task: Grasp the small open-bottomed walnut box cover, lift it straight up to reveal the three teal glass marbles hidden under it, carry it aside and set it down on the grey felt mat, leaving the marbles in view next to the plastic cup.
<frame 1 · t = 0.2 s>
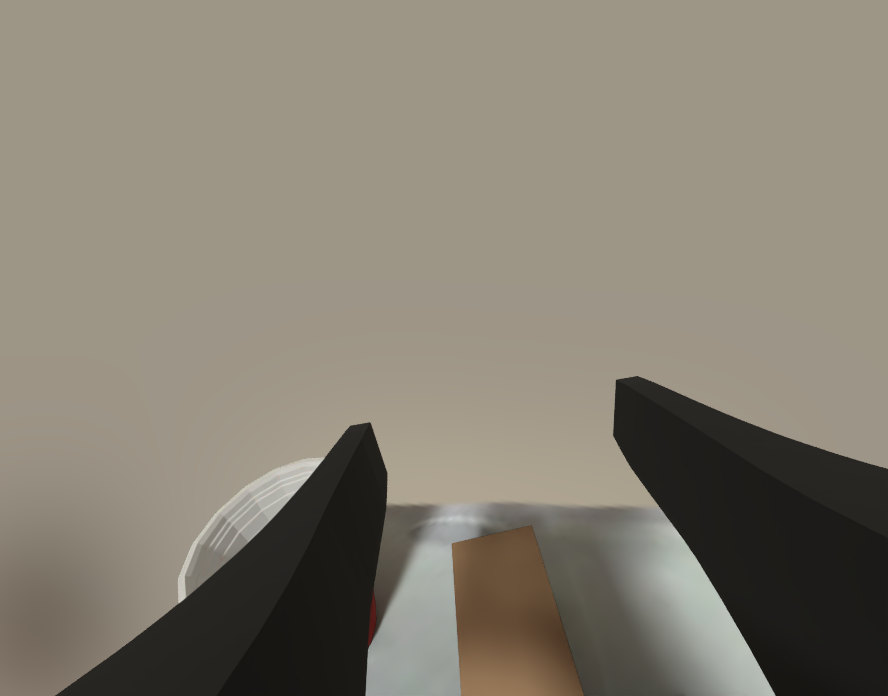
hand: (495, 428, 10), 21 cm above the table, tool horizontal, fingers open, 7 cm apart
plastic cup: (337, 636, 25), on the table
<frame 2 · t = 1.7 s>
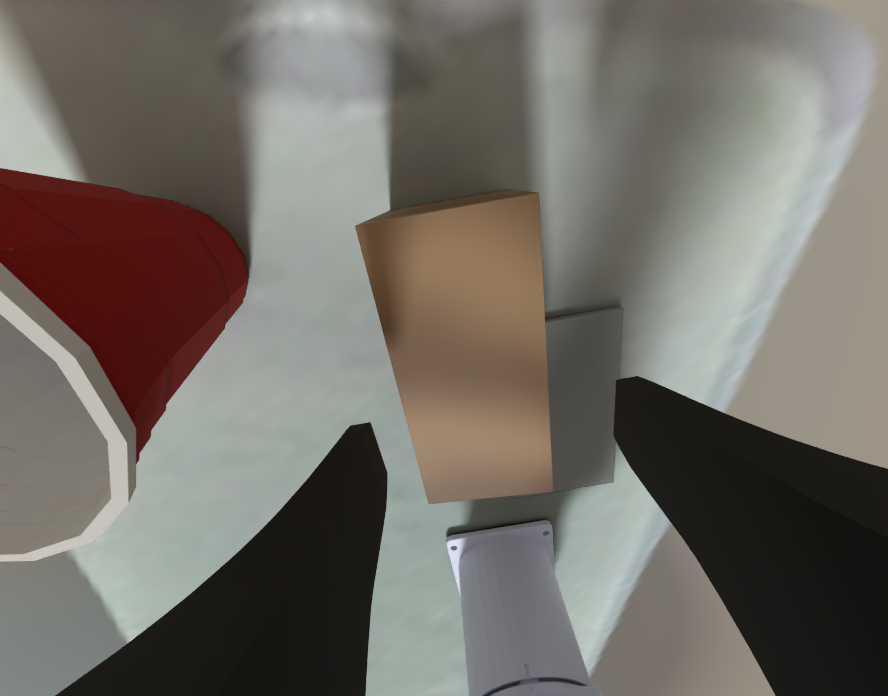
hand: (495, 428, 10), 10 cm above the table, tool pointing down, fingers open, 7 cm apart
felt mat: (559, 412, 22), on the table
plastic cup: (191, 269, 17), on the table
cover: (465, 319, 19), on the table, touching felt mat
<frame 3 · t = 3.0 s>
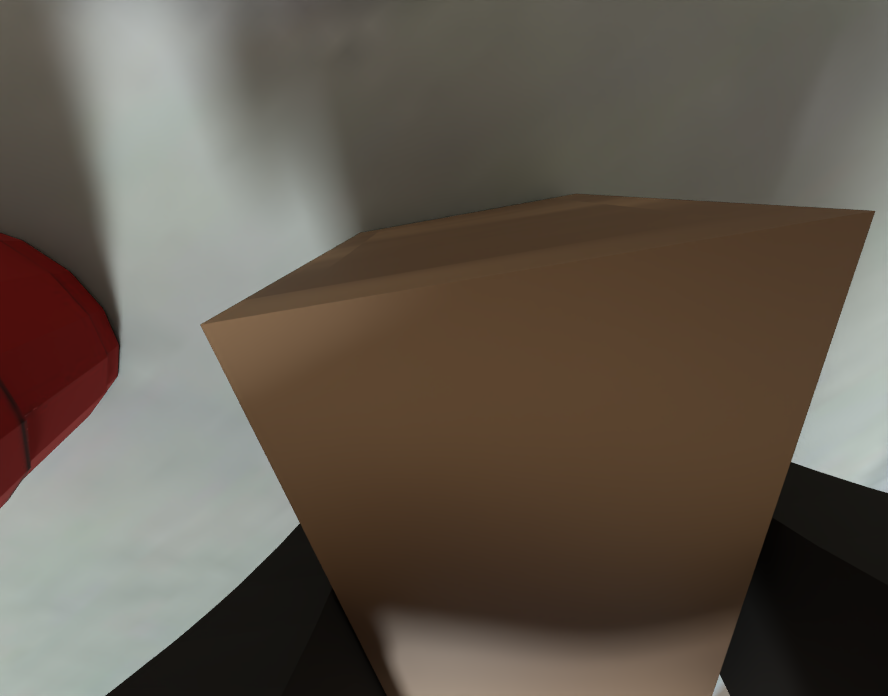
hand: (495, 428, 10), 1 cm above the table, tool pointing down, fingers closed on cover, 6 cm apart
plastic cup: (19, 332, 10), on the table
cover: (491, 408, 11), on the table, touching felt mat, gripper
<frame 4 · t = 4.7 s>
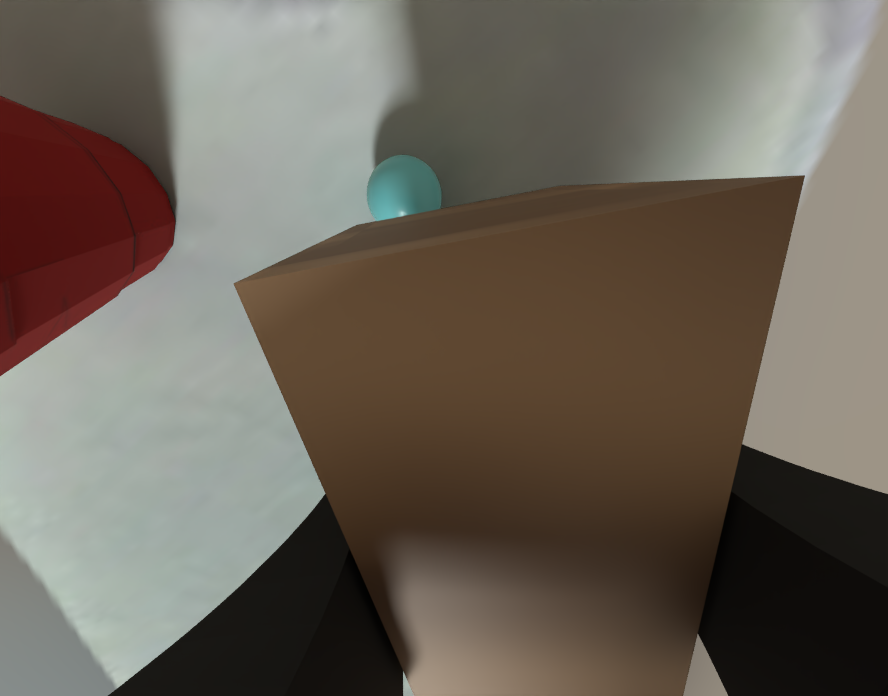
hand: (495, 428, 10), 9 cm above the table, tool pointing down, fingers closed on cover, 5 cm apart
plastic cup: (110, 211, 15), on the table
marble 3: (406, 195, 15), on the table
cover: (485, 394, 12), point 7 cm above the table, touching gripper
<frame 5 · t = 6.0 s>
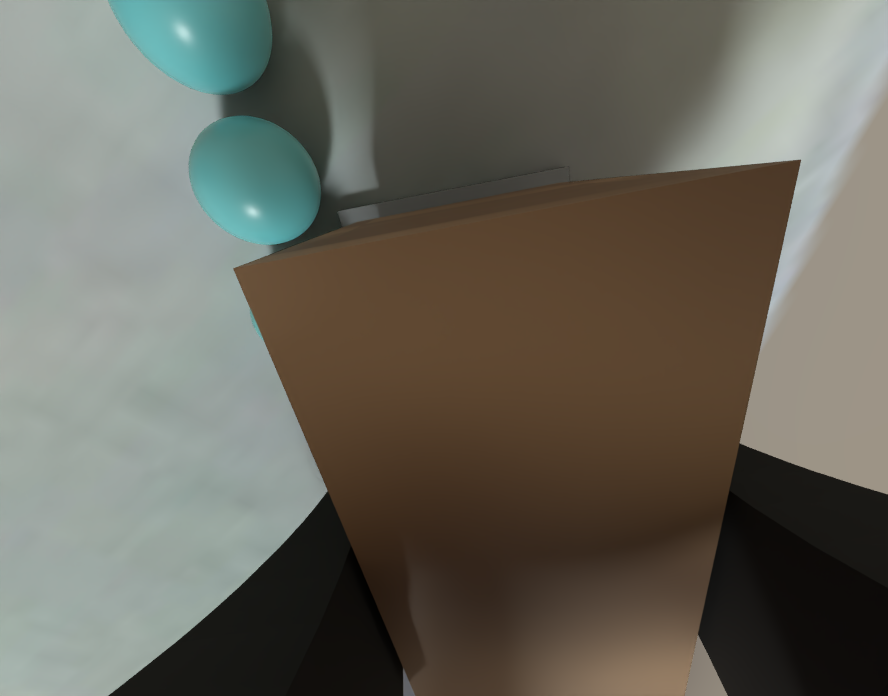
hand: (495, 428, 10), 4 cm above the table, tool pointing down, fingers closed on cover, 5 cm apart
felt mat: (478, 370, 13), on the table
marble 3: (230, 35, 9), on the table
cover: (485, 392, 12), point 2 cm above the table, touching gripper
marble 2: (281, 184, 10), on the table
when the fingers open (3 cm above the table, at t = 6.8 s): cover stays where it is, resting on felt mat.
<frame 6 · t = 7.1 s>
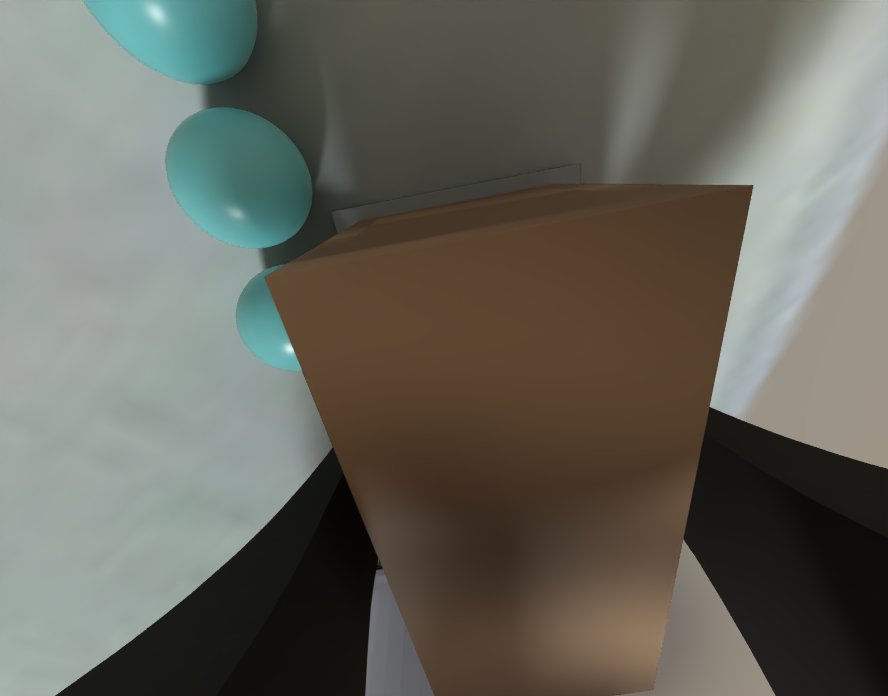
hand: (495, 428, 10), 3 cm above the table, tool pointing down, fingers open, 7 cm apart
felt mat: (481, 379, 13), on the table
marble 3: (213, 20, 8), on the table
cover: (482, 382, 12), resting on felt mat
marble 2: (270, 183, 10), on the table
marble 1: (313, 301, 11), on the table
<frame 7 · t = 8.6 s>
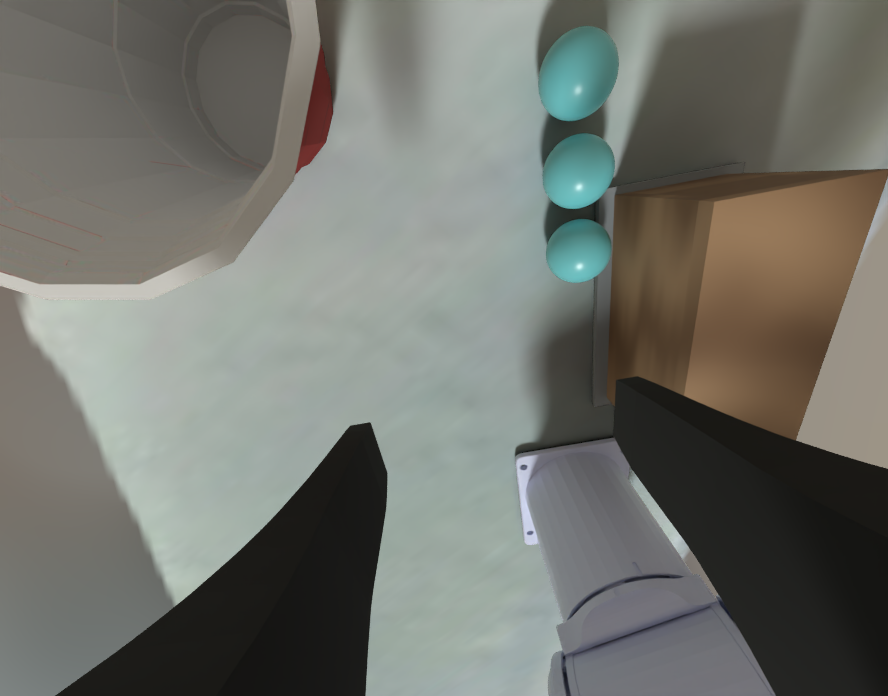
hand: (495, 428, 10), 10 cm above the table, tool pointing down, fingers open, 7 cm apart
felt mat: (654, 300, 20), on the table
plastic cup: (267, 105, 15), on the table
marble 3: (563, 86, 15), on the table
cover: (658, 300, 19), resting on felt mat
marble 2: (565, 173, 17), on the table
marble 1: (566, 246, 18), on the table
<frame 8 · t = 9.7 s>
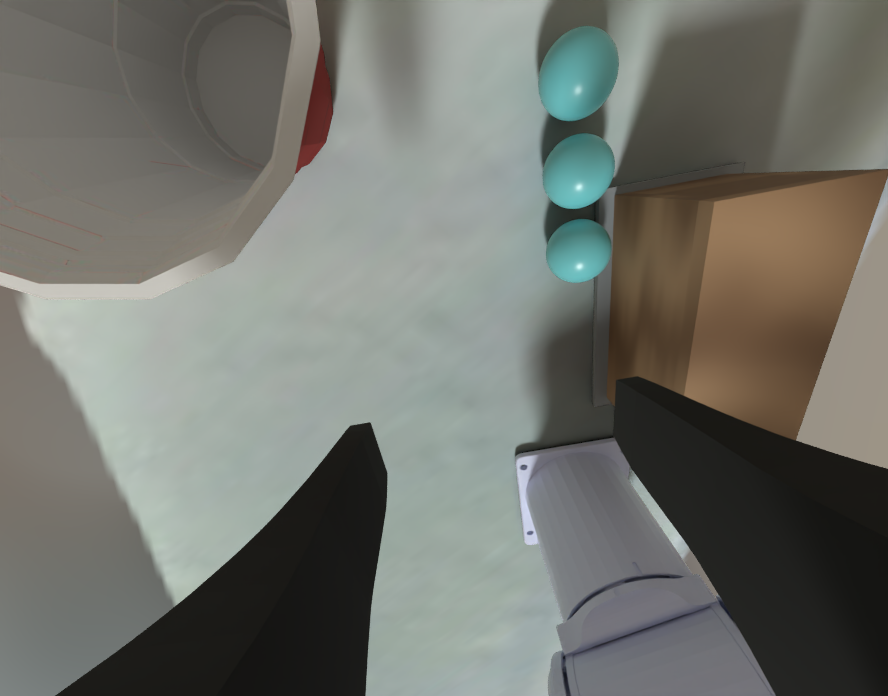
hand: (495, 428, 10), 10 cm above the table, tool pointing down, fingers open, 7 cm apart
felt mat: (654, 300, 20), on the table
plastic cup: (267, 105, 15), on the table
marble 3: (563, 86, 15), on the table
cover: (658, 300, 19), resting on felt mat
marble 2: (565, 173, 17), on the table
marble 1: (566, 246, 18), on the table
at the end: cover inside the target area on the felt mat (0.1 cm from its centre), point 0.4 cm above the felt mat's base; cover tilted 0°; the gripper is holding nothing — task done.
